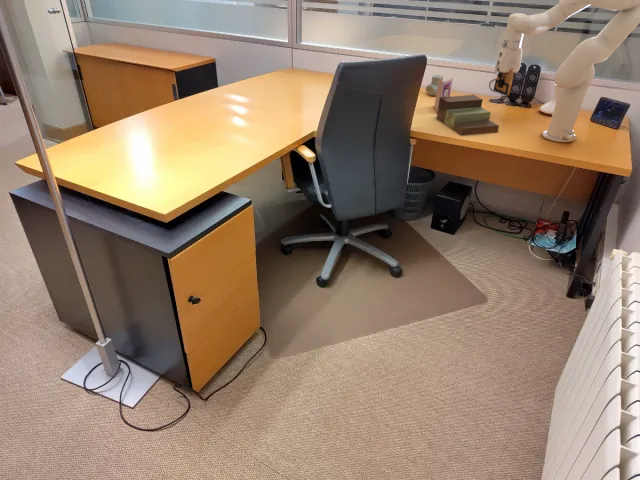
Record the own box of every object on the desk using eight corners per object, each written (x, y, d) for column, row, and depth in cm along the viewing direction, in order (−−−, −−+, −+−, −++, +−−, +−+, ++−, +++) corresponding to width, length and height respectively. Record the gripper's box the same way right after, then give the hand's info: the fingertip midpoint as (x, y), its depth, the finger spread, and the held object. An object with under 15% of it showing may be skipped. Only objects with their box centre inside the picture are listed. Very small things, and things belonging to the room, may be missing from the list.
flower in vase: (556, 118, 209) (574, 64, 195) (534, 112, 217) (549, 60, 203) (569, 113, 216) (586, 60, 202) (547, 107, 223) (562, 56, 209)
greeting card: (440, 113, 214) (445, 82, 205) (426, 110, 218) (430, 80, 209) (449, 108, 221) (454, 78, 213) (436, 105, 225) (440, 75, 217)
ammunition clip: (510, 95, 198) (516, 68, 192) (506, 95, 198) (512, 68, 191) (496, 89, 207) (502, 63, 200) (493, 90, 206) (498, 63, 200)
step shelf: (497, 132, 193) (503, 109, 187) (461, 135, 189) (466, 112, 184) (469, 115, 212) (473, 94, 207) (436, 117, 208) (439, 97, 203)
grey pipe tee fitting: (423, 93, 244) (425, 74, 239) (434, 91, 247) (437, 73, 242) (435, 98, 236) (438, 79, 231) (447, 96, 239) (450, 78, 234)
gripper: (501, 46, 186) (492, 90, 196) (533, 45, 189) (522, 88, 199) (491, 44, 192) (483, 86, 202) (522, 42, 195) (512, 84, 206)
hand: (502, 87), depth 201 cm, fingers closed on ammunition clip, 2 cm apart
